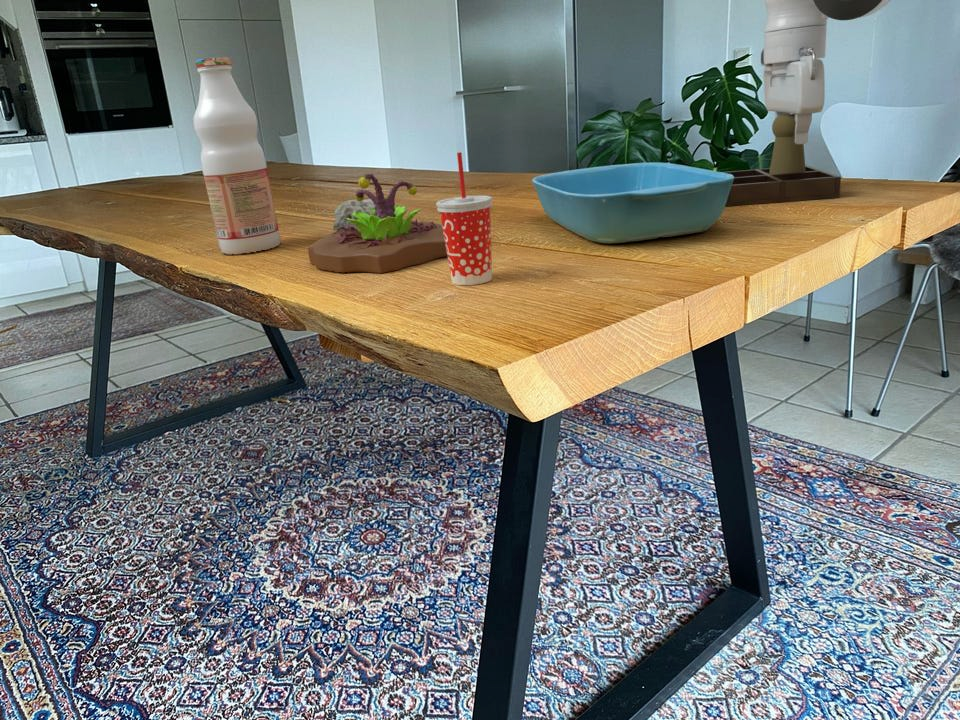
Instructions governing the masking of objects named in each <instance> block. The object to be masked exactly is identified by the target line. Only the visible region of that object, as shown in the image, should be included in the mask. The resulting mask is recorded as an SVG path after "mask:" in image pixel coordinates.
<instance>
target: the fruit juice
mask: <svg viewBox="0 0 960 720" xmlns="http://www.w3.org/2000/svg"><path fill="white" fill-rule="evenodd" d="M195 67H196V70H197V73H199V75H200V76H199V77H200V85H199V96H198V103H197V106H196V109H195V112H194V114H193V119H192V123H193V130H194V132H195V134H196V136H197V138H198V140H199V142H200V146H201V151H200V164H201V171H202V176H203V179H204V184H205V187H206V192H207V193H206V194H207V197H208V198H207V199H208V202H209V206H210V211H211V215H212V220H213V224H214V228H215V234H216V239H217V242H218V247H219V250H220V251H221V253H222V254H224V253H225V254H224V255H232V254H233V255H243V254H242V253H247V254H251V253H250V252H254V253H257V252H256V251H260V252H262V251H261V250H265V249H268V250H270V249H269V248H272V249H274V248H273V247H275V248H277V247H278V246H280V245H281V234H280V228H279V224H278V218H277V213H276V209H275V202H274V196H273V193H272V187H271V182H270V177H269V171H268V165H267V161H266V156H265V153H264V150H263V148H262V147H261V145H260V143H259V141H258V119H257V116H256V113H255V111H254V109H253V108H252V107H251V106H250V105H249V104H248V102H247V101H246V100H245V97H243V94H242V93H241V91H240V89H239V88H238V86H237V83H236V82H235V80H234V78H233V75H232V70H233V68H232V62H231V59H230V58H229V57H211V58H210V57H209V58H201V59H197V60H195ZM276 246H277V247H276ZM265 251H266V250H265Z"/></svg>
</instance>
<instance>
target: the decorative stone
mask: <svg viewBox="0 0 960 720" xmlns="http://www.w3.org/2000/svg"><path fill="white" fill-rule="evenodd" d="M372 208H375V204H374V203H373V201H372V200H371V199H370V198H368V199H364V200H363V201H361V202H360V201H357V200H356V199H348V200H346V201H343V202H342V203H340V204H338V206H337V208H336V209H335V211H334V212H333V215H334V218H335V219H334V221H333V225H332V227H333V229H334V231H335V233H336V232H337V230H338V228H339V227H344V228H346V229H347V228H348V227H350V226H353V227H354V228H355V229H357V226H356V225H355V224H353V223H351V222H350V221H348V220H347V218H349V219H353V220H358V219H357V218H356V217H354V215H353V214H354V212H355V211H357V212H363V213H366V214H368V215H370V216H371V209H372ZM358 221H359V220H358ZM350 229H351V228H350ZM341 230H344V229H340V230H339V231H338V233H339V232H340V231H341Z"/></svg>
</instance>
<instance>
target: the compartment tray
mask: <svg viewBox="0 0 960 720" xmlns="http://www.w3.org/2000/svg"><path fill="white" fill-rule="evenodd" d="M805 169H806V172H796V173H783V174H771V175H770V174H769V171H770V167H769V168H756V169H744V170H733V171H732V170H730V171H721V172H722V173H728V174H731V175H733V176H734V180H733V183H732V186H731V189H730V192H729V195H728V198H727V202H726V204H725V207H739V206H750V205H763V204H777V203H790V202H791V203H792V202H803V201H804V202H805V201H816V200H828V199H839V198H840V194H841V181H842V176H840V175H837V174H834V173H831V172H828V171H825V170H822V169H820V168H816V167H813V166H811V165H807V164H805Z"/></svg>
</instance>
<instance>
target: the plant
mask: <svg viewBox="0 0 960 720" xmlns="http://www.w3.org/2000/svg"><path fill="white" fill-rule="evenodd" d="M370 181H372V183H373V187H374V191H375V193H372V192H371V191H369V190H366V189H367V188H369V186H370V183H371V182H370ZM357 184H358V186H359V188H360V189H358V190H356V192H355V193H354V198H355V199H354V200H357V201H360V202H361V201H363V200H365V196H367V197H368V199H371V200H372V201H373V203H374V204H375V208H372V209H371V216H370V215H368V214H366V213H363V212H357V211H355V212H354V214H353V215H354V217H356V218H357V219H358V220H359V221H358V220H353V219H349V218H347V220H348V221H350V222H351V223H353V224H355V225H356V226H357V229H355V228H354V227H353V226H350V227H348V228H347V229H346V228H344V227H339V228H338V230H337V232H336V231H335V232H334V233H332V234H329V235H327V236H325V237H322V238H320V239H319V240H317V241H316V242H314V243H312V244H310V245H308V246H307V251H308V252H307V253H308V259H309V263H310V264H311V265H314V266H315V267H316V269H319V270H321V271H326V270H327V271H326V272H333V271H334V272H333V273H339V272H341V274H343V273H344V274H345V272H347V273H358V272H359V273H372V274H373V273H376V274H384V273H388V272H395V271H399V270H402V269H404V268H408V267H413V266H417V265H421V264H424V263H428V262H431V261H434V260H436V259H441V258H448V256H447V251H446V245H445V239H444V233H443V228H442V224H438V223H435V222H434V221H419V222H418V219H417V218H415V220H413V218H414V217H415V216H416V215H418V213H419V212H420V211H421V208H420V207H419V208H417V209H414V210H412V211H410V213H408V215H407V216H406V218H405V219H404V216H405V214H407V212H408V211H407V209H406V205H402V206H400V205H395V204H396V203H395V201H396V200H395V199H396V194H397V192H398V189H400V187H403V186H406V190H407V193H408V194H409V195H411V196H415V195H416V194H417V192H418V189H417V187H416V186H415V185H414V184H413V183H411V182H407V181H404V180H401V181H400V182H399V181H398V182H397V183H395V184H394V185H393V186H392V187H391V190H389V191H388V195H387V197H386V198H385V195H384V192H383V187H382V185H381V184H380V181H379V180H378V178H377V177H376V176H374V174H373V173H370V174H369V173H367V174H365V173H364V175H362V176H361V177H360V178H359V179H358V183H357ZM350 228H351V229H350ZM340 229H344V230H341V231H340V232H339V233H338V231H339V230H340Z"/></svg>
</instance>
